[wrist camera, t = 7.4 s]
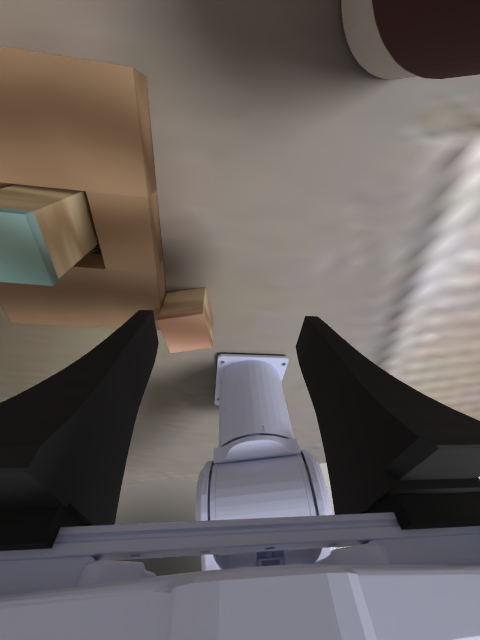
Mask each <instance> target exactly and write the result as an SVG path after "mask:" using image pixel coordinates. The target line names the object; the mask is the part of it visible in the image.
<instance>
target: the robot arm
mask: <svg viewBox="0 0 480 640" xmlns="http://www.w3.org/2000/svg"><path fill="white" fill-rule="evenodd" d="M157 348H158V337H157V331H156V325H155V319H154V313H153V310H139V311H137V312H136V313H135V314H134V315H133V316H132V317H131V318H130V319H128V320H127V321H126V322H125V323H124V324H123V325H122V326H121V327H119V328H118V329H117V330H116V331H115V332H114V333H112V334H111V335H110V336H109V337H108V338H107V339H105V340H104V341H103V342H101V343H100V344H99V345H98V346H96V347H95V348H94V349H92V350H91V351H90V352H88V353H87V354H86V355H84V356H83V357H81V358H80V359H79V360H77V361H75V362H74V363H72V364H71V365H69V366H68V367H66V368H65V369H63V370H61V371H60V372H58V373H56V374H55V375H53V376H51V377H49V378H48V379H46V380H44V381H42V382H41V383H39V384H37V385H35V386H33V387H32V388H30V389H28V390H26V391H24V392H22V393H20V394H18V395H16V396H14V397H12V398H10V399H8V400H6V401H4V402H2V403H0V640H480V479H479V478H478V477H479V476H480V421H478V420H476V419H474V418H472V417H469V416H467V415H465V414H463V413H461V412H458V411H456V410H454V409H452V408H450V407H447V406H445V405H443V404H442V403H440V402H438V401H436V400H434V399H432V398H430V397H428V396H426V395H424V394H422V393H420V392H419V391H417V390H415V389H413V388H412V387H410V386H408V385H406V384H405V383H403V382H401V381H400V380H398V379H396V378H395V377H393V376H392V375H390V374H389V373H387V372H386V371H384V370H383V369H381V368H380V367H378V366H377V365H375V364H374V363H373V362H371V361H370V360H368V359H367V358H366V357H365V356H363V355H362V354H361V353H359V352H358V351H357V350H356V349H355V348H353V347H352V346H351V345H350V344H349V343H347V342H346V341H345V340H344V339H343V338H342V337H340V336H339V335H338V334H337V333H336V332H335V331H334V330H333V329H331V328H330V327H329V326H328V325H327V324H326V323H325V322H324V321H322V320H321V319H320V318H319V317H315V316H305V319H304V322H303V325H302V329H301V332H300V335H299V338H298V341H297V344H296V350H297V356H298V361H299V365H300V368H301V371H302V374H303V377H304V380H305V383H306V386H307V388H308V391H309V394H310V397H311V400H312V403H313V406H314V409H315V412H316V416H317V420H318V424H319V429H320V433H321V437H322V442H323V447H324V452H325V457H326V462H327V468H328V473H329V479H330V485H331V491H332V498H333V504H334V512H335V515H333V514H332V508H331V504H330V499H329V495H328V491H327V487H326V483H325V480H324V477H323V474H322V471H321V468H320V465H319V463H318V461H317V459H316V458H315V457H314V456H313V455H312V454H311V453H310V452H309V451H308V450H301V451H300V447H299V443H298V439H296V438H295V439H294V436H293V432H292V428H291V423H290V419H289V415H288V411H287V406H286V402H285V398H284V393H283V389H282V385H281V382H282V379H283V376H284V373H285V370H286V367H287V364H288V361H289V360H288V357H287V356H270V355H242V354H220V355H218V361H217V375H216V388H215V402H214V404H215V405H217V406H219V448H214V461H208V462H207V463H206V464H205V466H204V468H203V469H202V471H201V472H200V475H199V478H198V483H197V490H196V505H195V508H196V509H195V517H196V521H187V522H166V523H142V524H120V525H114V524H115V519H116V513H117V507H118V502H119V496H120V490H121V485H122V480H123V475H124V470H125V465H126V460H127V455H128V451H129V446H130V441H131V437H132V433H133V428H134V424H135V420H136V416H137V412H138V409H139V406H140V403H141V400H142V397H143V394H144V391H145V388H146V386H147V383H148V380H149V377H150V374H151V371H152V368H153V366H154V363H155V358H156V354H157ZM346 546H351V547H346ZM336 547H346V548H340V549H336ZM193 555H201V560H202V571H200V572H191V573H182V574H173V575H166V576H157V577H156V575H155V573H152V572H149V571H146V570H145V569H144V568H145V566H144V564H143V563H142V562H127V561H110V560H124V559H140V558H158V557H175V556H193Z"/></svg>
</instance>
